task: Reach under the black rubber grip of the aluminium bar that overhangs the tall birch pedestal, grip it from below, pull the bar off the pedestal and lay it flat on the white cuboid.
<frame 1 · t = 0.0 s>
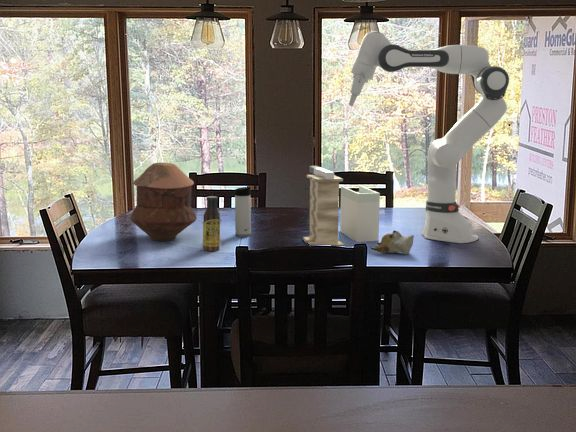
hand: (350, 105, 258), 52 cm above the table, fingers open, 8 cm apart
pottery vessel: (164, 238, 258), on the table
travel mug: (243, 236, 264), on the table
birch pedestal: (323, 243, 250), on the table
sauce bottle: (211, 250, 240), on the table
aluminium bar: (321, 175, 249), point 26 cm above the table, touching birch pedestal
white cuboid: (358, 235, 264), on the table
ceramic sculpture: (392, 253, 237), on the table
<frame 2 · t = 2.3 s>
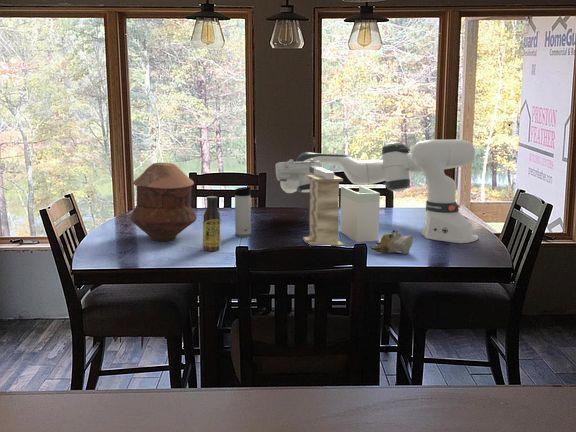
hand: (302, 160, 275), 29 cm above the table, fingers open, 8 cm apart
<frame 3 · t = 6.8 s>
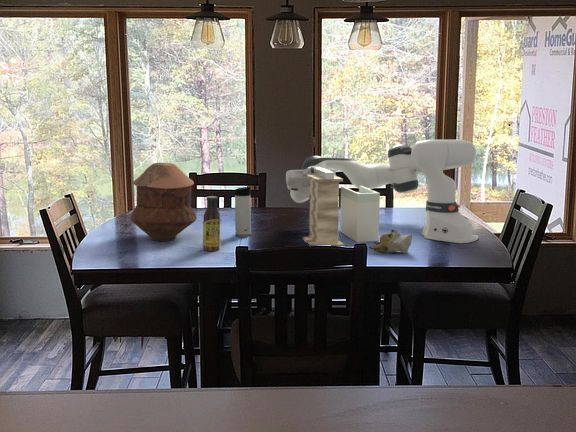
hand: (315, 168, 256), 28 cm above the table, fingers closed on aluminium bar, 3 cm apart
aluminium bar: (321, 175, 249), point 26 cm above the table, touching birch pedestal, gripper
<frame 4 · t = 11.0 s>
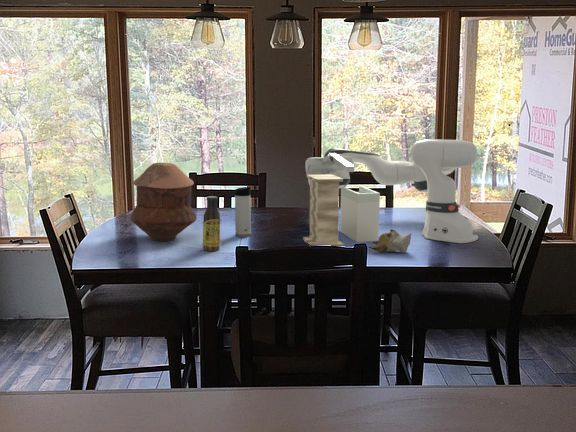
hand: (334, 156, 268), 31 cm above the table, fingers closed on aluminium bar, 3 cm apart
aluminium bar: (340, 165, 262), point 28 cm above the table, tilted 8°, touching gripper
when the fingers open (19 cm above the table, at t = 15.1 s): aluminium bar stays where it is, resting on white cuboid.
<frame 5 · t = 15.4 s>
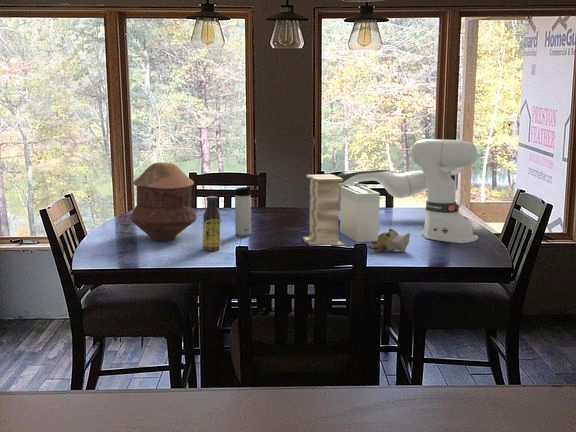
hand: (349, 184, 271), 19 cm above the table, fingers open, 6 cm apart
aluminium bar: (355, 194, 265), point 16 cm above the table, touching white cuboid
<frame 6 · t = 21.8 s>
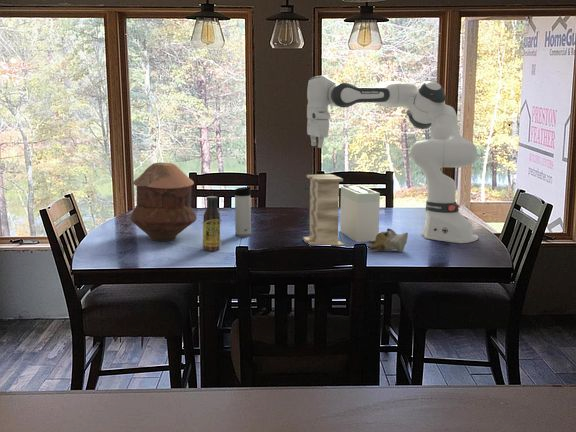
hand: (317, 146, 280), 34 cm above the table, fingers open, 8 cm apart
at the end: aluminium bar inside the target area on the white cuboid (0.3 cm from its centre), point 16.5 cm above the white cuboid's base; aluminium bar tilted 0°; the gripper is holding nothing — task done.
